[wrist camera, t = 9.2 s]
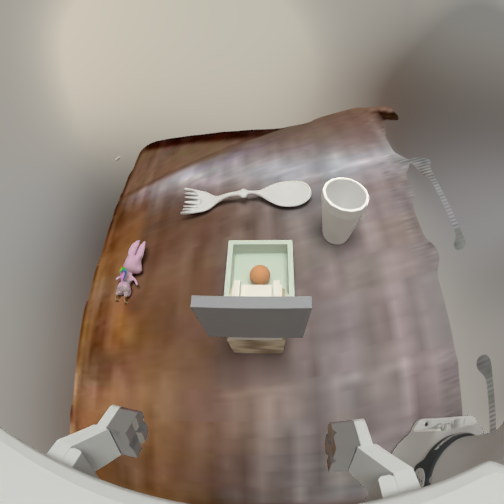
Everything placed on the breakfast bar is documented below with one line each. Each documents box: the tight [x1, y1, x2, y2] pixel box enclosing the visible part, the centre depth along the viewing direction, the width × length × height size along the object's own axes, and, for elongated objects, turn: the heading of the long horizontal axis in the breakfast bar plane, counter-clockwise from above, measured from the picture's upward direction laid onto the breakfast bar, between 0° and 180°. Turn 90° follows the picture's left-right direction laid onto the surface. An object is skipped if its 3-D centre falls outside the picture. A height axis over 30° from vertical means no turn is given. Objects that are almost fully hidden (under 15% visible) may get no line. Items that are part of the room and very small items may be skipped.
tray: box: [224, 240, 295, 297], centre depth 57 cm, size 13×13×4 cm
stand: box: [227, 288, 285, 353], centre depth 49 cm, size 9×9×9 cm
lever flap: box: [190, 280, 312, 340], centre depth 40 cm, size 9×14×12 cm, turn 88°
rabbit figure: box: [114, 240, 145, 304], centre depth 59 cm, size 6×6×15 cm
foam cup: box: [321, 177, 369, 245], centre depth 58 cm, size 10×9×13 cm
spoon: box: [181, 180, 311, 215], centre depth 69 cm, size 9×32×4 cm, turn 94°
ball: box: [250, 265, 270, 285], centre depth 56 cm, size 4×4×4 cm
